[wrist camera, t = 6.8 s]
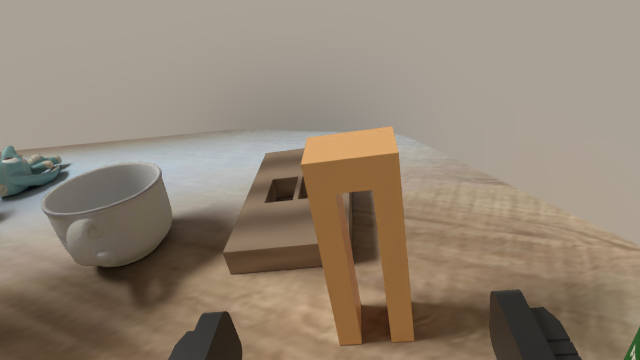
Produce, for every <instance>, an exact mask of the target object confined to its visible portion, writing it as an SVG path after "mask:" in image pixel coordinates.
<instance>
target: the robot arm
mask: <svg viewBox="0 0 640 360" xmlns="http://www.w3.org/2000/svg"><path fill="white" fill-rule="evenodd" d="M489 328H490V337H491V342H492V346H493V349H494V352H495V355H496V358H497V360H582V359H581V357H579V355H578V352H577V350H576V349H575V347H574V345H573V343H572V342H570V338H569V336H568V335H567V333H566V331H565V329H564V328H563V326H562V324H561V323H560V321H559V320H558V319H556V318H555V317H554V316H553V315H552V314H551V313H550V312H548V311H547V310H546V309H545V308H544V307H539V308H529V306H528V304H527V302H526V300H525V298H524V296H523V294H522V292H521V291H520V290H518V289H517V290H505V291H492V292H491V294H490V326H489ZM168 360H242V346H241V342H240V339H239V337H238V334H237V332H236V329H235V327H234V324H233V322H232V319H231V317H230V315H229V313H228V312H227V311H224V312H211V313H203V314H202V315H201V317H200V319H199V321H198V323H197V326H196V328H195V330H194V331H188V332H186V334H185V335H184V336H183V337H182V338H181V339H180V340H179V342H178V343H177V344H176V345H175V346H174V349H173V351H172V353H171V355H170V357H169V359H168Z"/></svg>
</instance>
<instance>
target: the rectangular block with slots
mask: <svg viewBox="0 0 640 360" xmlns="http://www.w3.org/2000/svg"><path fill="white" fill-rule="evenodd" d="M304 149H305V148H304ZM304 149H296V150H288V151H280V152H272V153H266V154H265V157H264V159H263V161H262V163H261V166H260V168H259V170H258V173H257V175H256V177H255V180H254V182H253V184H252V187H251V189H250V191H249V193H248V196H247V198H246V200H245V203H244V205H243V207H242V210H241V212H240V214H239V217H238V219H237V221H236V223H235V226H234V228H233V230H232V233H231V235H230V237H229V240H228V242H227V244H226V247H225V249H224V251H223V254H224V257H225V260H226V262H227V265H228V268H229V271H230V273H231V274H239V273H251V272H263V271H274V270H286V269H298V268H310V267H321V266H323V264H322V260H321V255H320V251H319V246H318V241H317V237H316V232H315V228H314V223H313V218H312V214H311V209H310V205H309V200H308V198H307V199H306V197H307V191H306V186H305V182H304V177H303V173H302V168H301V161H302V157H303V153H304ZM342 195H343V201H344V207H345V213H346V219H347V225H348V231H349V237H350V243H351V249H352V255H353V232H352V192H350V193H342ZM291 196H294V197H293V200H289V201H280V202H276V201H277V198H282V197H291Z"/></svg>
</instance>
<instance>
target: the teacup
mask: <svg viewBox="0 0 640 360" xmlns="http://www.w3.org/2000/svg"><path fill="white" fill-rule="evenodd" d="M161 175H162V173H161V170H160V168H159V167H158V166H157V165H155V164H153V163H148V162H128V163H118V164H114V165H109V166H104V167H101V168H98V169H94V170H91V171H89V172H85V173H83V174H81V175H78V176H76V177H74V178H72V179H69V180H67V181H65V182H64V183H62V184H60V185H59V186H57V187H56V188H54V189H52V191H50V192H49V193H48V194H47V195H46V196H45V197H44V198H43V200H42V202H41V209H42V210H43V212H44V213H45V214H47V216H48V218H49V220H50V222H51V224H52V226H53V228H54V230H55V232H56V234H57V236H58V237H59V239H60V241H61V242H62V244H63V246H64V247H65V249H66V250H67V252H68V253H69V254H70V255H71V257H72V258H73V259H74V261H75V262H77V263H78V264H80V265H82V266H102V267H117V266H123V265H127V264H130V263H133V262H135V261H137V260H140V259H142V258H143V257H145V256H147V255H148V254H150V253H151V252H152V251H153V250H154V249H155V248H156V247H157V246H158V245H159V244H160V243H161V241H162V240H163V239H164V237H165V236H166V235H167V233H168V231H169V230H170V227H171V223H172V211H171V206H170V202H169V199H168V195H167V192H166V189H165V186H164V183H163V180H162V177H161Z"/></svg>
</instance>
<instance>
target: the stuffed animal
mask: <svg viewBox="0 0 640 360" xmlns="http://www.w3.org/2000/svg"><path fill="white" fill-rule="evenodd" d="M1 155H2V156H1V158H0V196H9V195H14V194H17V193H20V192H22V191H24V190H26V189H27V187H28V186H33V185H45V184H47V183H49V182H51V181H52V180H53V179H55V178H56V177H57V175H58V173H59V171H60V166H59V165H57V166H56V167H55V168H54V169H52V170H51V171H49V172H48V173H44V174H41V173H43V172H44V171H46V170H47V169H51V168H53V167H54V165H55V164H60V163H61V162H62V161H61V158H60V156H53V157H51V156H48V157H45V158H44V157H42V156H40V155H33V156H32V157H31V158H30V159H29V161H26V160H24V159H23V158H22V155H17V153H16V152H15V150H14V148H13V146H7V147H6V148H4V150H3V151H2V153H1ZM37 174H38V175H37Z"/></svg>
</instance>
